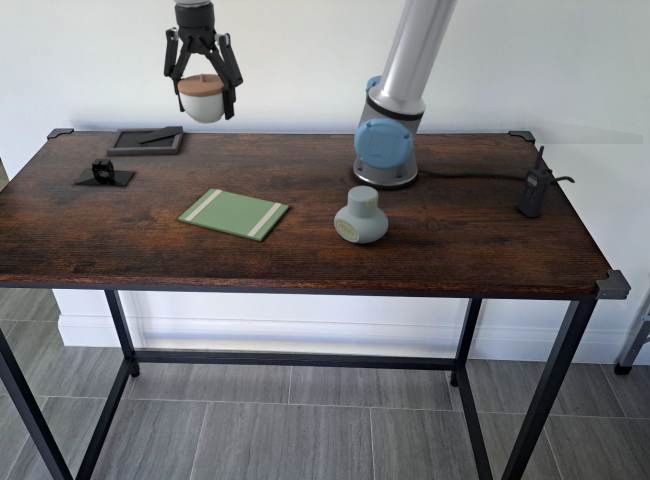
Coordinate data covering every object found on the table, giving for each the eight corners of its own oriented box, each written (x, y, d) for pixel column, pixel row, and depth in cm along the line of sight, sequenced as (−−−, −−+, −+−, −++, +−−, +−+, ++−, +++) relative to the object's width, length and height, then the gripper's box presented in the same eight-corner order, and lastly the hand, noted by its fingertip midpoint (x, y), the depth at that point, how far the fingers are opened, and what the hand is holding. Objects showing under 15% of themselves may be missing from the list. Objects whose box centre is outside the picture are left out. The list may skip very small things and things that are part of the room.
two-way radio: (513, 207, 122) (531, 143, 113) (530, 203, 123) (549, 139, 114) (530, 220, 118) (550, 155, 109) (547, 215, 119) (568, 151, 110)
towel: (288, 208, 124) (288, 205, 123) (260, 241, 114) (260, 238, 114) (211, 190, 130) (211, 187, 130) (178, 220, 121) (177, 217, 120)
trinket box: (236, 109, 125) (232, 66, 119) (226, 128, 117) (222, 83, 111) (189, 108, 126) (183, 65, 120) (177, 127, 118) (170, 83, 112)
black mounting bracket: (75, 185, 134) (70, 167, 131) (87, 170, 139) (82, 153, 137) (125, 186, 133) (120, 169, 130) (135, 172, 138) (131, 154, 135)
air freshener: (393, 239, 114) (398, 196, 107) (364, 254, 110) (368, 211, 103) (355, 217, 120) (358, 175, 114) (327, 231, 116) (328, 189, 110)
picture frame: (183, 132, 156) (119, 134, 156) (182, 125, 154) (117, 127, 154) (176, 154, 145) (108, 155, 145) (175, 147, 144) (106, 148, 144)
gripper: (256, 2, 105) (262, 115, 119) (155, -7, 113) (172, 100, 127) (236, 12, 100) (245, 128, 114) (132, 2, 108) (153, 112, 122)
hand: (207, 113), depth 121 cm, fingers closed on trinket box, 11 cm apart
